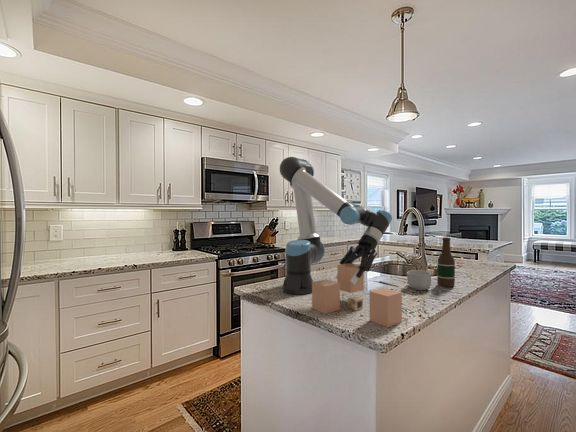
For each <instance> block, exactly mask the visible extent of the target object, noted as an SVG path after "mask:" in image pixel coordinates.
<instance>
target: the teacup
mask: <svg viewBox="0 0 576 432" xmlns="http://www.w3.org/2000/svg"><path fill="white" fill-rule="evenodd" d="M406 279H407V285H408V286H409V287H410V288H411V289H413V290H415V291H426V290H428V289H429V288H430V287H431V284H432V273H431V272H430V271H428V270H421V269H420V270H417V269H416V270H415V269H411V270H408V271H407V272H406Z"/></svg>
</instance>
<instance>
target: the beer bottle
mask: <svg viewBox="0 0 576 432" xmlns="http://www.w3.org/2000/svg"><path fill="white" fill-rule="evenodd" d="M441 241H442V246H441V254H439V256H438V258H437V266H436V267H437V270H436V271H437V272H436V273H437V274H436V275H437V279H436V281H437V286H439V287H440V288H447V289H448V288H454V287H455V280H456V272H455V271H456V261H455V258H454V256H453V254H452V251H451V238H450V237H449V236H448V237H445V236H444V237H442V238H441Z"/></svg>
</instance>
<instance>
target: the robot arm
mask: <svg viewBox="0 0 576 432" xmlns="http://www.w3.org/2000/svg"><path fill="white" fill-rule="evenodd" d="M279 173H280V175H281V177H282V178H283V179H284V180H286V181H287V182H288V183H289V186H290V188H292V189H293V195H294V201H295V202H294V203H295V209H296V217H297V222H298V230H299V236H298V237H297V239H295V240H291V241H288V242H287V243H286V245H285V270H286V271H285V277H284V281H283V284H282V292H284V293H285V294H289V295H309V294H312V282H314V280H313V277H312V274H311V270H312V269H311V267H312V266H311V265H313V264H317V263H318V262H319V261H321V260H323V258H324V257H325V253H326V248H325V245H324V243H323V242H322V241H321V236H320V235H319V234H318V233H317V228H316V221H315V214H314V207H313V198H314V199H315V200H316V201H317V202H318V203H320V204H321V205H323V206H324V207H326V208H327V209H328V210H329V211H331V212H332V213H334V214H335V215H336V216H337V217H338V218H340V221H341V222H342V223H343V224H345V225H353V226H354V225H355V224H360V225H363V226H365V227H366V229H365V231H364V232H363V234H362V235H361V237H360V239H359V240H358V245H356V246H355V247H354V246H350V248H349V249H348V251H347V252H346V253H345V255H344V256H343V257H342V259H341V260H340V261H339V265H340V264H346V263H354V261H356V260H358V259H359V258H360V264H359V265H360V267H359V268H360V269H359V268H357V270H356V272H355V273H354V275H353V277H352V278H351V280H350V282H351V283H352V284H353V285H355V284H356V282H357V280H358V279H359V278H360V277H361V276H362V274H363V272H364V273H365V272H370V270H371V268H372V265H373V263H374V261H375V258H376V257H377V255H378V252H377V250H376V248H377V246H378V244H379V242H380V241H381V240H382V238H383V236H384V234H385V233H386V231H387V230H388V228H389V227H390V224H391V222H392V221H393V217H392V214H391V213H390V212H389V211H388V210H385V209H378V210H377V211H376V212H375V211H373V210H370V209H368V208H366V207H363V206H362V205H360V204H356V203H350V202H348V200H346V199H345V198H343V197H342V196H340V194H338V193H336V191H333V190H332V189H331V188H329V187H328V186H326V185H325V184H324V183H323V182H321V181H320V180H319V179H317V178H315V177H314V175H315V169H314V166H313V164H312V163H311V162H309V161H308V160H307V159H303V158H298V157H295V156H287V157H286V158H284V159H283V160H282V161H281V162H280V164H279ZM335 279H336V280H337V281H338V273H336V275H335Z"/></svg>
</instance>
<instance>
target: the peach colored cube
mask: <svg viewBox="0 0 576 432" xmlns="http://www.w3.org/2000/svg"><path fill="white" fill-rule="evenodd" d="M311 309H314V310H315V311H317V312H321V313H323V314H329V313H332V312H336V311H340V309H341V290H340V283H338V281H333V280H330V279H322V280H317V281H313V282H312V293H311Z"/></svg>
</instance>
